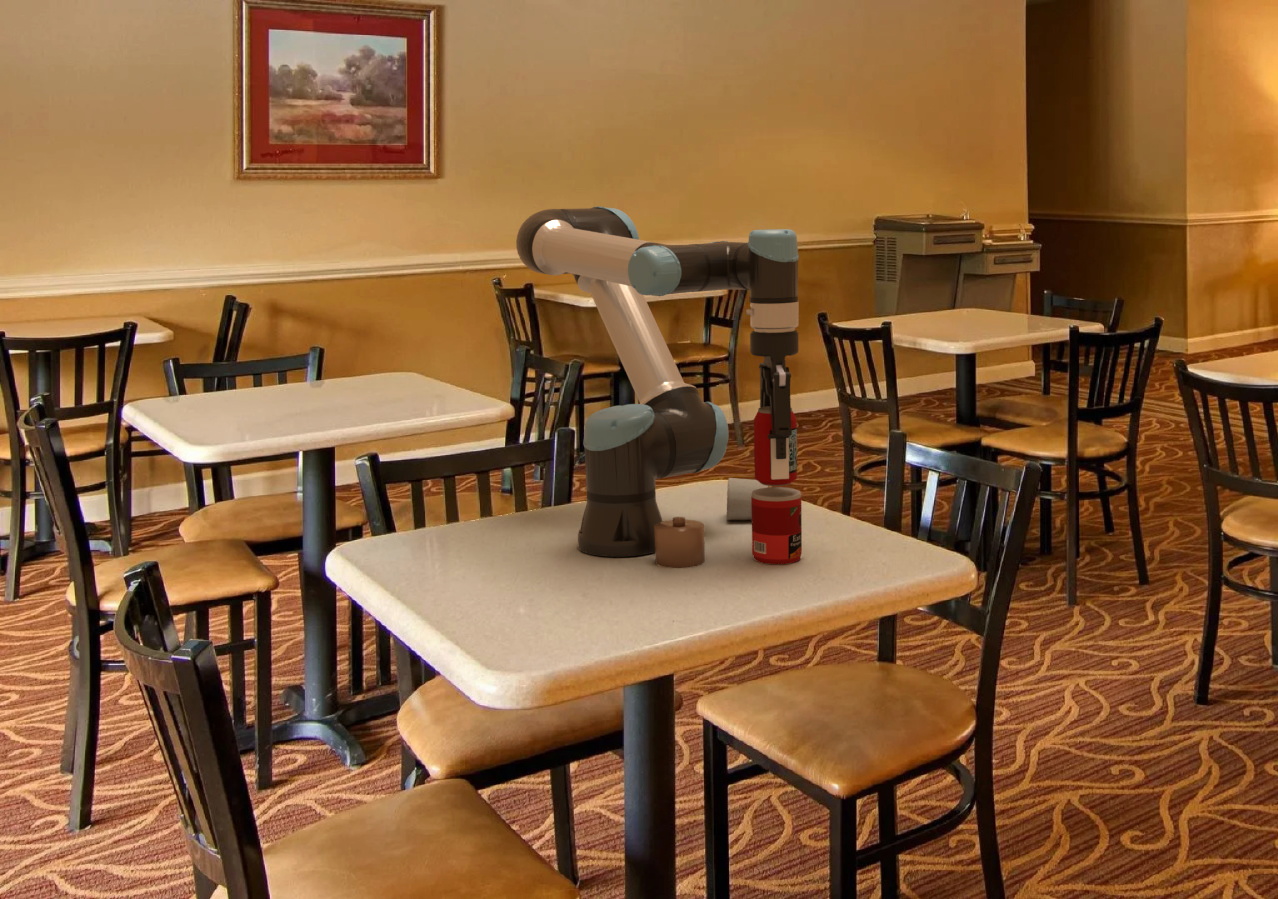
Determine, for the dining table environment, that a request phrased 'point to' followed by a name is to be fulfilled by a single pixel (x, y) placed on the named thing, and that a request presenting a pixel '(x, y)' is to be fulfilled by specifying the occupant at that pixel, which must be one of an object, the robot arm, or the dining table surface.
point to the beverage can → (764, 449)
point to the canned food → (776, 525)
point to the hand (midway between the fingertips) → (775, 473)
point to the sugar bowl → (679, 543)
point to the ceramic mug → (741, 498)
